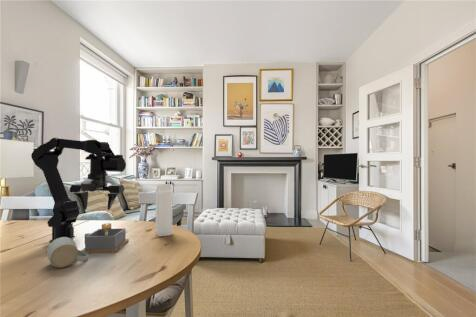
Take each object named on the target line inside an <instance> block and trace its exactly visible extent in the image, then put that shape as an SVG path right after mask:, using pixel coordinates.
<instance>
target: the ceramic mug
mask: <svg viewBox="0 0 476 317" xmlns="http://www.w3.org/2000/svg"><path fill="white" fill-rule="evenodd" d="M46 255H47V257H48V261H49V263H50V264H51V265H52V266H53V267H54V268H58V269H62V268H67V267H69V266H71V265H73V264H74V263H75V262H76V261H79V262H85V261H87V260H88V258H89V253H85V252H83V251H81V250H79V249H78V247H77V245H76V242H75V241H74V240H73V238H72V239H71V238H68V237H61V238H57V239H55V240H54V241H52V242H49V245H48V246H47V249H46Z"/></svg>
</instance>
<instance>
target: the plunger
mask: <svg viewBox="0 0 476 317" xmlns="http://www.w3.org/2000/svg"><path fill="white" fill-rule="evenodd" d="M101 229H102V231H105V236H108V230H111V229H112V223H110V222H108V223H107V222H106V223H102V224H101Z"/></svg>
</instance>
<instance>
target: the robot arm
mask: <svg viewBox="0 0 476 317" xmlns="http://www.w3.org/2000/svg"><path fill="white" fill-rule="evenodd" d="M64 149H73V150H79V151H80V150H81V151H83V152H85V153H88V154H89V155H87V156H86V157H85V158H84V159H85V160H89V161H90V163H89V164H90V166H89V173H88V174H87V178H86V179H84V180H83V181H81V182H80V183H76V184H72V185H71V186H70V187H69V193H73V195H75V196H77V197H78V198H79V201H80V203H81V206H82V208H83V210H84V211H87V209H88V202H89V192H96V191H101V192H104V191H105V192H106V191H107V192H109V193H107V197H108V198H107V211H110V210H111V209H112V206H113V204H114V202H115V200H116V198H117V197H118V195H120V194H121V193H122V192H124V191H125V186H124V185H123V184H111V185H108V183H107V177H108V174H109V173H107V172H112V173H113V172H117V173H118V172H119V173H120V172H121V173H122V172H124V171H125V170H126V166H127V163H126V160H125V158H124V156H123V154H115V153H114V152H113V150H112V148H111V146H110V144H109V142H108V141H106V140H101V139H100V140H99V139H87V140H76V139H68V138H67V139H66V138H63V137H52V138H51V139H49V140H48V141H47V142H45V143H43V144H41V145H39V146H37V148H35V149H34V150H33V151H32V153H31V155H30V156H31V159H32V162H33V163H34V165H35V166H36V167H37V168H38V169H40V170H41V171H42V173H43V175H44V177H45V181H46V184H47V186H48V188H49V191H50V194H51V196H52V199H53V203H54V204H53V208H52V216H51V217H50V218H49V220H48V221H47V226H48V227H50V228H51V239H50V240H49V241H48V242H49V243H51V242H52V241H54V240H55V239H57V238H61V237H68V238H71V239H72V240H73V238H75V227H74V226H73V224H74V223H76V222H77V220H78V217H79V215H80V206H79V205H78V202H77V200H76V199H75V200H72V199H70V198H69V195H68V192H67V190H66V187H65V185H64V182H63V180H62V177H61V174H60V171H59V169H58V164H59V161H60V160H59V156H61V155H62V154H63V151H64Z"/></svg>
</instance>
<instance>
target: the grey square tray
mask: <svg viewBox="0 0 476 317" xmlns="http://www.w3.org/2000/svg"><path fill="white" fill-rule="evenodd" d="M126 230H127V229H126V228H125V227H124V228H121V227H120V228H111V230H108V236H105V231H102V228H98V229H97V230H95V231H93V232H90V233H89V232H88V233H84V248H83V249H81V250H80V251H83V252H85V253H87V254H105V253H108V254H109V253H118V252H119V251H120V250H121V249H122V248H124V246H126V244H127V243H128V242H129V241H130V239H129V238H126V237H127V236H126Z"/></svg>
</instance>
